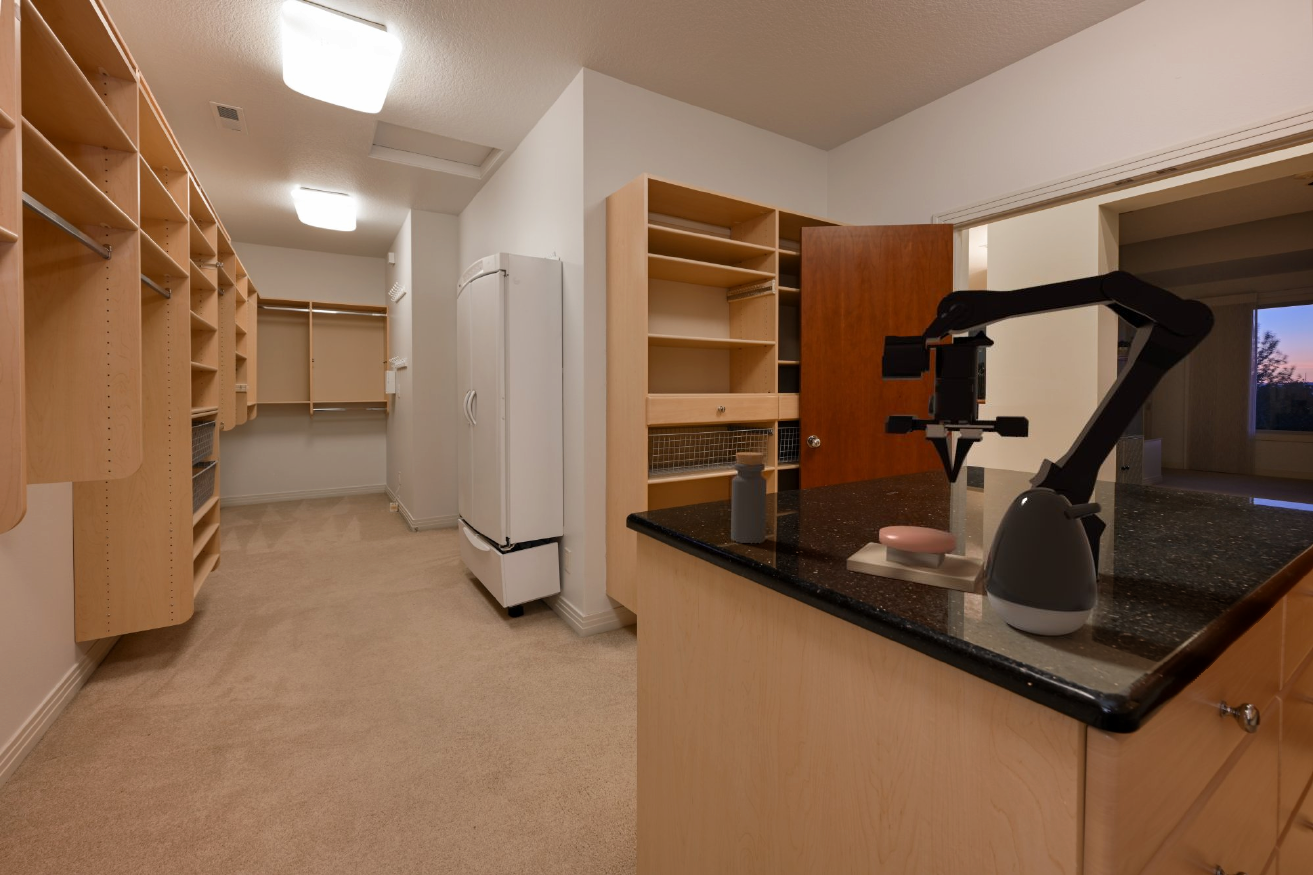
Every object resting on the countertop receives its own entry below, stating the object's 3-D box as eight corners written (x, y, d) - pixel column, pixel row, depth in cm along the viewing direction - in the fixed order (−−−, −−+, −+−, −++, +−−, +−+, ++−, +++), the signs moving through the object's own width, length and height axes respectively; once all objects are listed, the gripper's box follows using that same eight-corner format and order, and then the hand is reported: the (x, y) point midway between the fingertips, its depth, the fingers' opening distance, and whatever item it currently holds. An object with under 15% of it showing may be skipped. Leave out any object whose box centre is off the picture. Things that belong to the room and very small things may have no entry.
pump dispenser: (1067, 655, 55) (1076, 499, 54) (962, 619, 64) (969, 484, 63) (1115, 633, 60) (1124, 491, 59) (1012, 602, 69) (1019, 478, 68)
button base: (984, 569, 83) (985, 545, 82) (973, 592, 73) (974, 565, 73) (869, 551, 92) (870, 529, 92) (846, 569, 82) (847, 545, 82)
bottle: (765, 545, 95) (767, 455, 94) (729, 543, 96) (731, 454, 95) (765, 536, 101) (767, 452, 100) (732, 535, 102) (733, 451, 101)
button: (960, 555, 83) (961, 532, 83) (949, 572, 75) (950, 546, 75) (888, 544, 89) (889, 523, 89) (870, 559, 81) (871, 535, 81)
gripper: (1030, 378, 87) (1026, 480, 88) (899, 381, 97) (897, 472, 98) (1030, 376, 78) (1025, 490, 79) (885, 379, 88) (883, 480, 89)
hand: (952, 482), depth 87 cm, fingers closed
